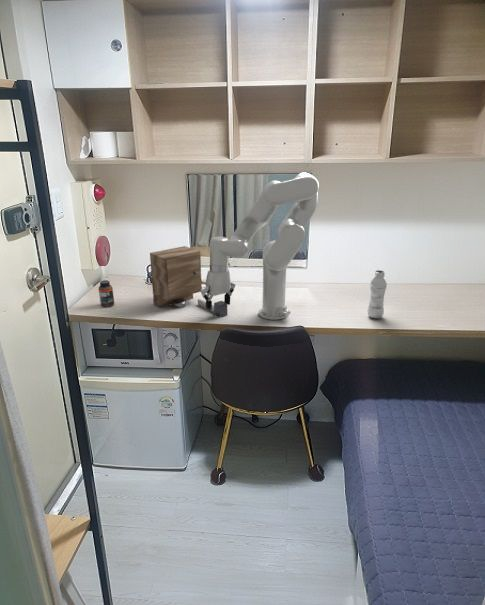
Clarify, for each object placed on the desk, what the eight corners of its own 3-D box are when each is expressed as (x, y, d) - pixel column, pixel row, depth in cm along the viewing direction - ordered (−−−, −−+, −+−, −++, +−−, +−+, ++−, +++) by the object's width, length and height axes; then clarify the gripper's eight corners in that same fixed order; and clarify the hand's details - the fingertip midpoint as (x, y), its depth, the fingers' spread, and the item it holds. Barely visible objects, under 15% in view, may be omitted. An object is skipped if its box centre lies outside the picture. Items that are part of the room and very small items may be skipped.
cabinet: (203, 303, 207) (201, 251, 198) (169, 313, 196) (166, 259, 187) (187, 295, 216) (184, 246, 208) (153, 304, 205) (149, 252, 197)
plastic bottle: (373, 321, 188) (379, 275, 180) (363, 315, 193) (368, 270, 186) (386, 319, 190) (392, 273, 183) (375, 313, 196) (380, 268, 188)
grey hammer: (227, 315, 194) (227, 303, 192) (220, 317, 192) (219, 305, 190) (202, 303, 207) (202, 292, 205) (195, 305, 204) (194, 294, 202)
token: (187, 306, 204) (187, 301, 203) (178, 309, 201) (177, 304, 200) (181, 303, 207) (181, 298, 206) (172, 306, 204) (171, 301, 203)
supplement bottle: (107, 302, 209) (104, 278, 205) (117, 304, 206) (114, 280, 202) (97, 306, 204) (94, 282, 200) (108, 308, 201) (105, 284, 197)
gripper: (229, 262, 194) (228, 299, 201) (196, 268, 184) (196, 308, 190) (241, 266, 189) (239, 304, 195) (207, 273, 179) (206, 313, 185)
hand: (218, 306), depth 193 cm, fingers open, 9 cm apart
